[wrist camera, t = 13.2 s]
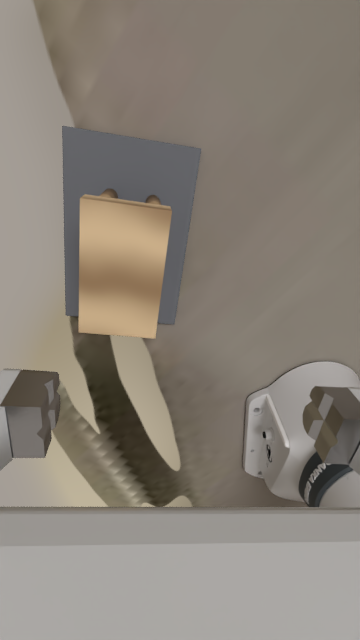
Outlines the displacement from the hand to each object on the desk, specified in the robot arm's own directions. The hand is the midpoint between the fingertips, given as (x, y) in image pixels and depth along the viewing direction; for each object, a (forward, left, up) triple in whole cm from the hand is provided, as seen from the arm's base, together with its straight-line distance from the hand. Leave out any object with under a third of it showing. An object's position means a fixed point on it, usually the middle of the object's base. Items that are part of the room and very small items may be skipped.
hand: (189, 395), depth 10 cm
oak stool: (-2, +3, -25) cm, 25 cm away
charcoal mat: (-2, +3, -25) cm, 26 cm away
